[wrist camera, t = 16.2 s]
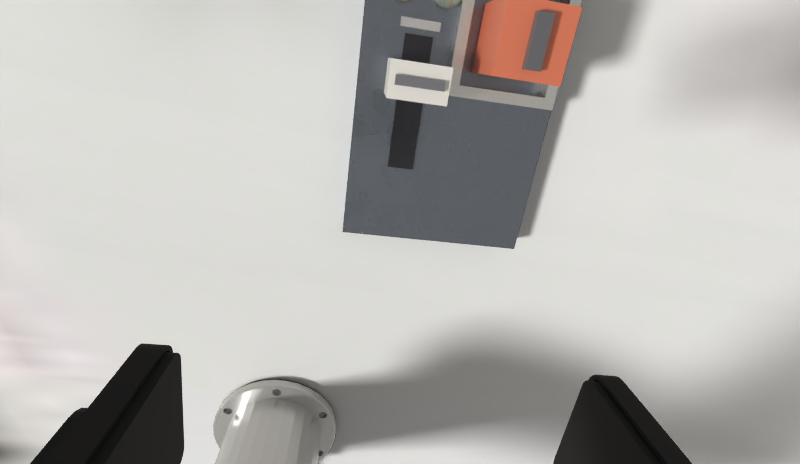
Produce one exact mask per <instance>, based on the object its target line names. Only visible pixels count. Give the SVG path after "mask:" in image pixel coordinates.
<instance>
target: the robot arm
mask: <svg viewBox="0 0 800 464" xmlns="http://www.w3.org/2000/svg"><path fill="white" fill-rule="evenodd" d="M213 431H214V437H215V440H216V443H217V444H218V446H219V448H220V451H219V453H218V456H217V459H216V462H215V464H317V463H318V461H319V460H320V459H322V458H323V457H324V456H325V455H326V454H327V453H328V451H329V450H330V448H331V446H332V445H333V443H334V439H335V435H336V420H335V415H334V413H333V410H332V408H331V407H330V405H329V404H328V402H327V401H326V400H325V399H324V398H323V397H322V396H321V395H320V394H318V393H317V392H315V391H314V390H312V389H310V388H308V387H306V386H303V385H301V384H298V383H294V382H290V381H283V380H264V381H259V382H254V383H251V384H248V385H245V386H243V387H241V388H239V389H237V390H236V391H234V392H232V393H231V394H230V395H229V396H228V397H227V398H226V399H225V400H224V401H223V403H222V404H221V406H220V407H219V410H218V412H217V414H216V416H215V420H214V425H213ZM183 451H184V430H183V404H182V377H181V357H180V354H179V353H173V350H172V347H171V346H169V345H155V344H140V345H139V346H138V347H136V349H135V350H134V351H133V352H132V354H131V355H130V356H129V357H128V359H127V360H126V361H125V362H124V364H123V365H122V366H121V367H120V369H119V370H118V371H117V372H116V374H115V375H114V376H113V377H112V379H111V380H110V381H109V382H108V384H107V385H106V386H105V387H104V389H103V390H102V391H101V392H100V394H99V395H98V396H97V397H96V399H95V400H94V401H93V402H92V404H91V405H90V406H89V407H88V408H80V409H78V410H77V411H75V412H74V413H73V414H72V415H71V416H70V417H69V418H68V419H67V420H66V421H65V423H64V424H63V425H62V426H61V427H60V429H59V430H58V431H57V432H56V433H55V435H54V436H53V437H52V438H51V439H50V441H49V442H48V443H47V444H46V445H45V447H44V448H43V449H42V450H41V451H40V453H39V454H38V455H37V456H36V457H35V459H34V460H33V461H32V462H31V463H30V464H180V463H181V460H182V456H183ZM554 464H692V463H691V462H690V461H689V459H688V458H687V457H686V456H685V455H684V453H683V452H682V451H681V450H680V449H679V447H678V446H677V445H676V444H675V443H674V441H673V440H672V439H671V438H670V437H669V435H668V434H667V433H666V432H665V431H664V429H663V428H662V427H661V426H660V425H659V423H658V422H657V421H656V420H655V419H654V418H653V416H652V415H651V414H650V413H649V412H648V410H647V409H646V408H645V407H644V406H643V404H642V403H641V402H640V401H639V400H638V398H637V397H636V396H635V395H634V394H633V392H632V391H631V390H630V389H629V388H628V386H627V385H626V384H625V383H624V382H623V381H622V380H621V379H620V378H619V377H616V376H604V375H593V376H591V377H590V378H589V380H588V381H585V382H584V383H583V385H582V388H581V390H580V393H579V395H578V398H577V401H576V403H575V406H574V409H573V411H572V414H571V417H570V419H569V422H568V425H567V427H566V430H565V432H564V435H563V438H562V440H561V443H560V446H559V448H558V451H557V454H556V456H555V459H554Z"/></svg>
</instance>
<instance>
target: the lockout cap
mask: <svg viewBox="0 0 800 464" xmlns="http://www.w3.org/2000/svg"><path fill="white" fill-rule="evenodd" d="M581 11H582V7H580V6H575V5H569V4H564V3H559V2H553V1H548V0H493V1H490V2H488V3H485V5H484V10H483V15H482V20H481V25H480V30H479V35H478V40H477V45H476V50H475V55H474V60H473V65H472V70H471V72H473V73H479V74H484V75H490V76H496V77H503V78H509V79H515V80H521V81H527V82H534V83H540V84H546V85H552V86H558V87H560V86H561V83H562V79H563V75H564V72H565V68H566V65H567V61H568V57H569V54H570V50H571V47H572V43H573V39H574V36H575V32H576V29H577V25H578V22H579V18H580V14H581Z"/></svg>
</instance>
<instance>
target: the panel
mask: <svg viewBox="0 0 800 464" xmlns="http://www.w3.org/2000/svg"><path fill="white" fill-rule="evenodd" d="M490 1H493V0H365V6H364V16H363V27H362V37H361V47H360V58H359V68H358V78H357V89H356V99H355V109H354V120H353V130H352V141H351V151H350V161H349V172H348V182H347V192H346V203H345V213H344V223H343V232H350V233H360V234H370V235H380V236H390V237H400V238H410V239H420V240H430V241H440V242H450V243H461V244H471V245H481V246H491V247H501V248H511V249H514V247H515V243H516V239H517V236H518V232H519V228H520V225H521V221H522V217H523V213H524V210H525V206H526V202H527V199H528V195H529V191H530V187H531V184H532V180H533V176H534V172H535V169H536V165H537V161H538V158H539V154H540V150H541V146H542V143H543V139H544V135H545V132H546V128H547V124H548V120H549V117H550V113H551V110H553V106H554V103H555V99H556V95H557V91H558V88H559V87H558V86H552V85H546V84H540V83H534V82H527V81H521V80H515V79H509V78H503V77H496V76H490V75H484V74H479V73H473V72H471V70H472V65H473V60H474V55H475V50H476V45H477V40H478V35H479V30H480V25H481V20H482V15H483V10H484V5H485V3H488V2H490ZM548 1H553V2H559V3H564V4H569V5H575V6H581V2H582V0H548ZM388 58H394V59H401V60H407V61H414V62H420V63H427V64H433V65H440V66H446V67H453V68H454V69H453V74H452V80H451V86H450V91H449V97H448V103H447V106H440V105H432V104H425V103H418V102H411V101H404V100H397V99H390V98H386V96H385V94H384V87H385V79H386V70H387V62H388Z"/></svg>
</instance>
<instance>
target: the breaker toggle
mask: <svg viewBox="0 0 800 464" xmlns="http://www.w3.org/2000/svg"><path fill="white" fill-rule="evenodd" d="M453 69H454V68H453V67H446V66H440V65H433V64H427V63H420V62H414V61H407V60H401V59H394V58H388V62H387V70H386V79H385V87H384V94H385V96H386V98H390V99H397V100H404V101H411V102H418V103H425V104H432V105H440V106H447V103H448V97H449V91H450V86H451V80H452V74H453Z"/></svg>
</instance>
